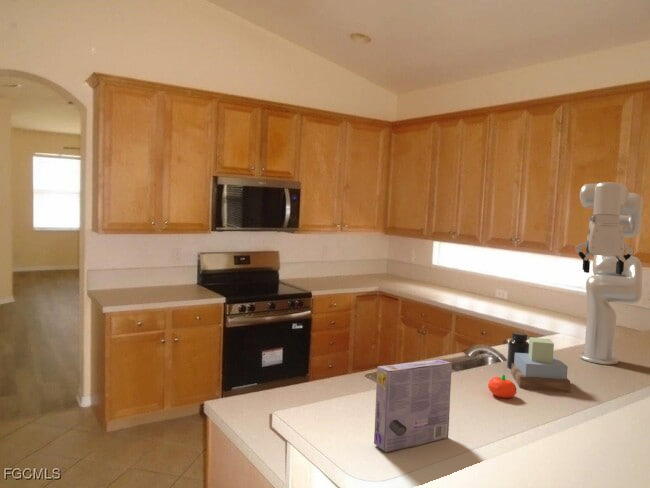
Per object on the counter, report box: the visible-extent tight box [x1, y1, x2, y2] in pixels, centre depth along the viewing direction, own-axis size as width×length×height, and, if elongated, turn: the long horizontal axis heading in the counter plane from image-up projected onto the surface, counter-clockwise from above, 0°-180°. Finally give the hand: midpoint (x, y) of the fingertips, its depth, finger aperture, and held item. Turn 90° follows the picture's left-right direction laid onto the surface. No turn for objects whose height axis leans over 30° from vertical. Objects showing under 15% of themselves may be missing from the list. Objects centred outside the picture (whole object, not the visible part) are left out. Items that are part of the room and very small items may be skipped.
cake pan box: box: [373, 359, 453, 454], centre depth 109 cm, size 19×5×18 cm, turn 118°
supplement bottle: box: [506, 331, 529, 369], centre depth 167 cm, size 7×7×12 cm
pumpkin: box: [487, 374, 517, 399], centre depth 140 cm, size 7×8×6 cm
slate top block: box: [514, 353, 569, 379], centre depth 152 cm, size 12×12×4 cm
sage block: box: [528, 336, 555, 363], centre depth 152 cm, size 6×6×6 cm
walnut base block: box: [510, 363, 571, 393], centre depth 152 cm, size 14×14×4 cm
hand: (602, 273), depth 158 cm, fingers open, 9 cm apart
